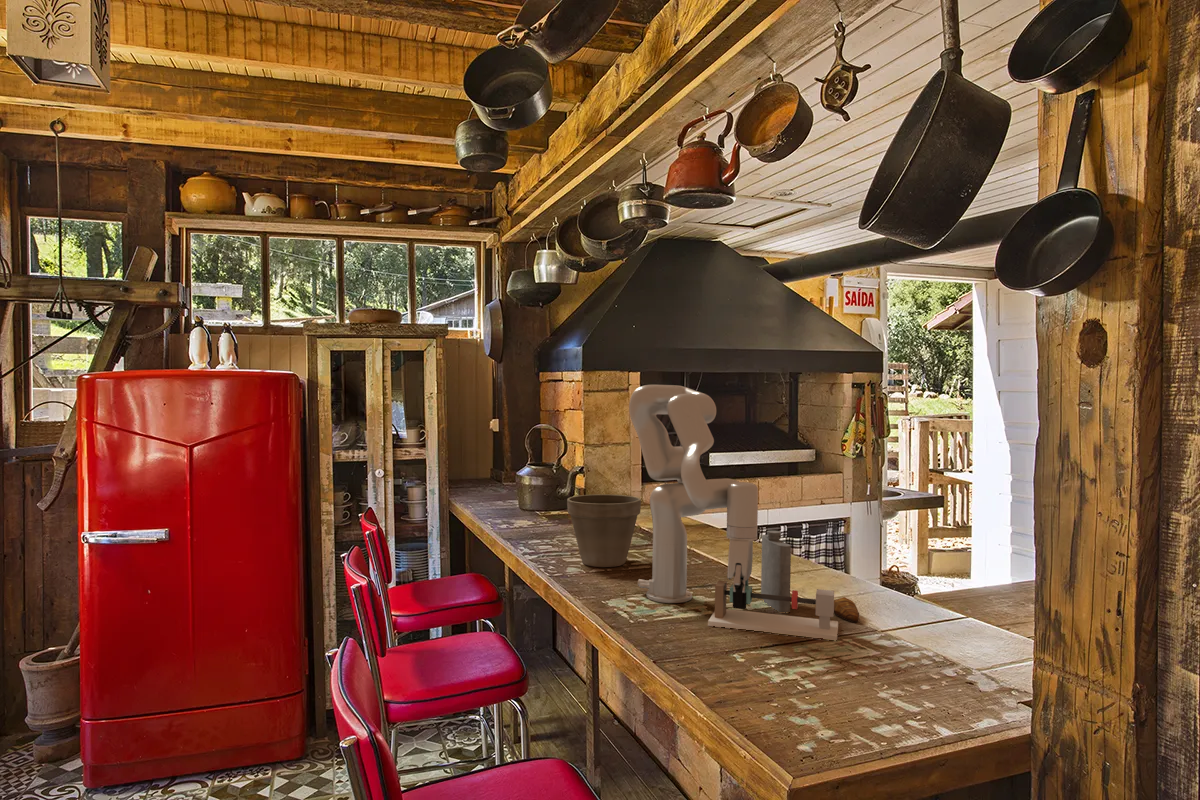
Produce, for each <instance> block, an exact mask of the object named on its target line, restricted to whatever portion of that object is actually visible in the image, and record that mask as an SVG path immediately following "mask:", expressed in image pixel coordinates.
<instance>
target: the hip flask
mask: <svg viewBox="0 0 1200 800" xmlns="http://www.w3.org/2000/svg"><path fill="white" fill-rule="evenodd" d="M780 536H781V531H779V530H766V534H762V535H761V571H760V572H761V577H760V578H761V579H760V581H761V582H760V584H761V586H760V594H769V595H778V596H788V597H791V574H792V573H791V569H792V568H791V567H792V565H791V564H792V560H791V558H792V545H791V544H789V543H786V542H783V541H781V540H780V539H781V537H780ZM763 600H764V602H765V603H767V604H768V605H769V606H771V607H772V608H774V609H775V610H777V611H779V612H785V613H784V614H787V613H786V612H790V613H791V602H787V601H778V600H768V599H763ZM763 600H762V601H763ZM764 602H763V603H764ZM765 603H764V604H765ZM768 605H767V606H768ZM769 606H768V607H769ZM772 608H771V609H772ZM775 610H774V611H775ZM777 611H776V612H777ZM779 612H778V613H779Z"/></svg>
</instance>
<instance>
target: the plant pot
mask: <svg viewBox="0 0 1200 800" xmlns="http://www.w3.org/2000/svg"><path fill="white" fill-rule="evenodd" d="M641 502H642V498H640V497H638V496H633V495H623V494H606V493H605V494H582V495H574V496H571V497H568V498H567V500H566V505H567V514H568V515H570V518H571V523H572V527H573V530H574V534H575V535H574V536H575V540H576V543H577V548H578V552H579V556H580V559H581V562H582V563H583V564H584V565H586V566H588V567H593V568H594V567H595V568H597V567H598V568H613V567H614V568H615V567H620V566H622V565H625V563H626V562H627V558H628V555H629V552H630V548H631V544H632V540H633V536H634V531H635V527H636V523H637V518H638V515H640V514H641V507H642V506H641V505H642V503H641Z"/></svg>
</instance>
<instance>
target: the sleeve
mask: <svg viewBox="0 0 1200 800" xmlns="http://www.w3.org/2000/svg"><path fill="white" fill-rule="evenodd" d="M733 588H734V583H732V584H731V585H730V587H729V590H730V595H729V603H733ZM745 592H746V605H751V603H752V601H753V598H751V593H753V586H752V585H748V586H745Z"/></svg>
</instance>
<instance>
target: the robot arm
mask: <svg viewBox="0 0 1200 800" xmlns="http://www.w3.org/2000/svg"><path fill="white" fill-rule="evenodd" d="M628 405H629V406H628V411H629V418H630V421H631V423H632V425H633V428H634V431H635V432H636V435H637V439H638V442H639V445H640V448H641V450H640V451H641V452H642V453H641V454H642V457H643V462H644V465H645V468H646V471H647V474H648V476H649V477H650V479H652V480H654V481H674V480H675V481H677V482H673V483H665V484H660V485H658V486H656V487H655V488H654V489H652V491H651V493H650V496H649V506H650V507H649V508H650V512H651V519H652V520H651V521H652V566H651V567H652V568H651V569H652V570H651V571H652V573H651V574H652V576H651V579H649V580H647V579H646V580H645V579H640V578H639V579H638V580H637V587H639V588H641V589H647V591H646V595H645V596H646V598H647V599H649V600H651V601H654V602H659V603H666V604H679V603H686V602H689V601H691V600H692V598H693V594H692V592H691V591H689V590H687V582H688V581H687V578H688V577H687V574H688V573H687V572H688V568H687V567H688V563H687V562H688V533H687V529H686V526H685V524H684V522H683V520H682V518H684V517H694V516H699V515H702V514H703V513H704V512H705V511H707V510H717V509H726V538H727V539H728V540H729V545H728V546H729V547H728V559H727V579H728V580H732V579H733V584H734V588H733V602H732V608H733V609H737V610H746V608H747V604H746V592H745V586H750V585H749V583H750V582H749V578H750V577H751V574H752V572H753V559H754V558H753V557H754V556H753V555H754V553H753V552H754V550H753V549H754V543H753V542H754V541H757V540H758V518H759V517H758V516H759V514H758V513H759V511H758V510H759V509H758V508H759V506H758V505H759V488H758V486H757V484H755V483H753V482H747V481H739V480H736V479H733V478H727V477H726V478H725V477H724V478H711V479H706V477H705V475H704V473H703V470H702V467H701V465H700V464H701V463H700V459H701V455H702V454H704V453H706V452H707V451H709V449H711V448H712V447H713V446H714V443H715V439H714V437H713V434H712V432H711V430H710V428H709V426H708V424H710V423H712V422H713V421H714V420H715V418H716V415H717V406H716V403H715V402H714V400H713V399H712V397H711V396H710V395H708V394H707V393H703V392H701V391H697V390H694V389H692V388H689V387H686V386H682V385H677V384H676V385H674V384H645V385H642V386H639V387H637V388H636V389H635V390H634V391H633V392H632V393H631V396H630V399H629V404H628ZM657 415H668V417H669V419H670V422H671V424H672V426H673V429H674V431H675V433H676V435H677V438H678V441H679V442H680V443H679V444H680V445H681V446H673V445H672V442H671V439H670V436H669V433H668V430H667V428H666V427H665V425H664V424H663V422H662V421H661V420H660V419H659V418H658V416H657Z"/></svg>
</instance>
